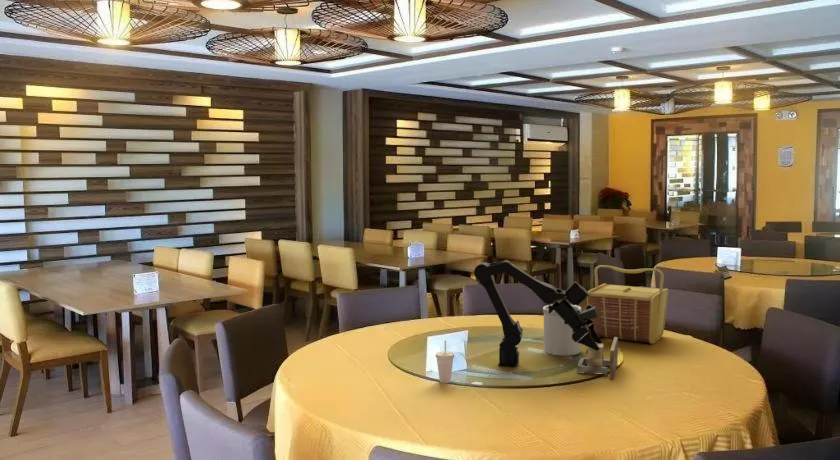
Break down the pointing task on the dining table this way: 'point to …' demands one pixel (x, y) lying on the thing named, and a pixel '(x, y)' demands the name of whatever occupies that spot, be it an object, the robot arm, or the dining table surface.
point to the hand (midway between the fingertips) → (599, 346)
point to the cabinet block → (595, 356)
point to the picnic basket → (629, 309)
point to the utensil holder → (558, 334)
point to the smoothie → (445, 365)
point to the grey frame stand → (611, 362)
